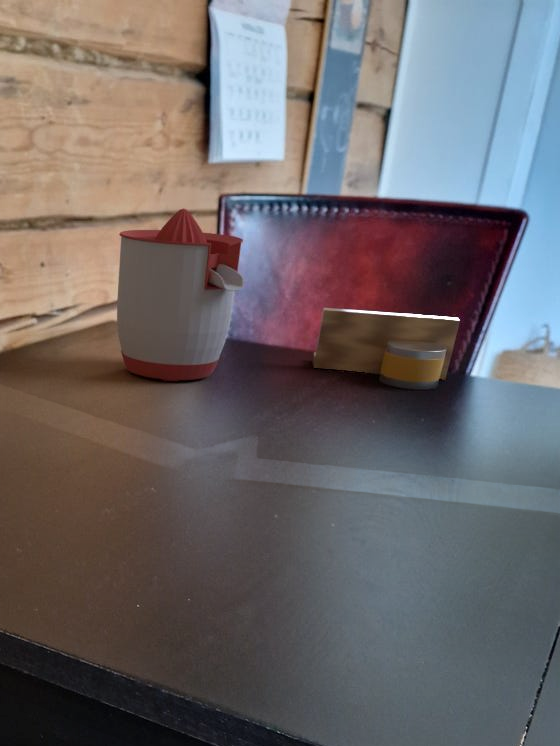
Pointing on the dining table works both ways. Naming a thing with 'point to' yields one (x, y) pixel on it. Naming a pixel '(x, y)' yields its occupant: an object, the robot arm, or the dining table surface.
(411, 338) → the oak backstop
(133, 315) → the citrus juicer
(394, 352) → the tin can
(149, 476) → the dining table surface
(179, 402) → the dining table surface
